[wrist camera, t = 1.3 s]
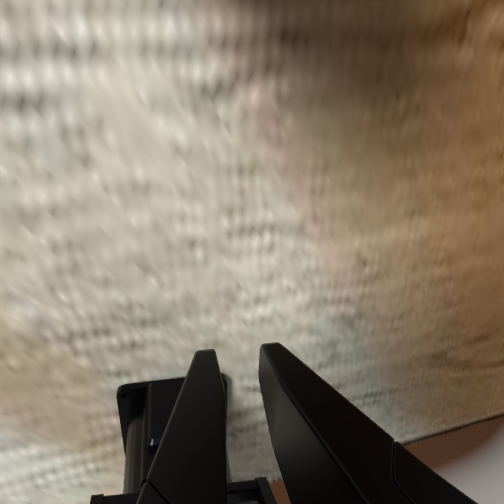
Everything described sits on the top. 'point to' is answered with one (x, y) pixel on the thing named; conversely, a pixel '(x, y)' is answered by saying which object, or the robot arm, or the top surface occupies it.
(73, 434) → the top surface
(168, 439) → the robot arm
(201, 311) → the top surface
